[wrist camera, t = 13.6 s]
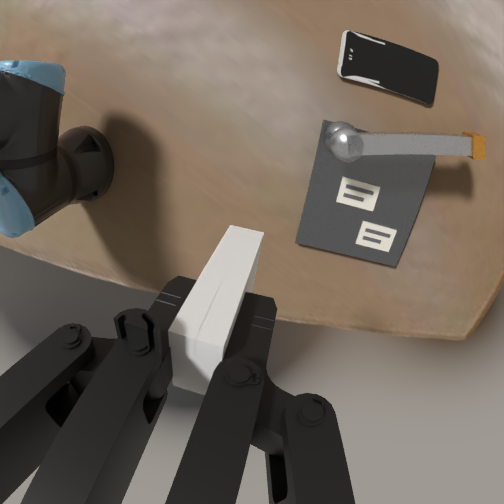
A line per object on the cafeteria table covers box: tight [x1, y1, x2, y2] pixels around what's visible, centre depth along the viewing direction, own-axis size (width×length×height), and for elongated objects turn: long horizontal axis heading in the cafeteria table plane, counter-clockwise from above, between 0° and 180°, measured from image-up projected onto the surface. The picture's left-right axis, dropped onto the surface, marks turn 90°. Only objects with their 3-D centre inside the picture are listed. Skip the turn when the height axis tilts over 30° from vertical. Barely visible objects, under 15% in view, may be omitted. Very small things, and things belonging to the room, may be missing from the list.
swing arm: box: [330, 128, 485, 162], centre depth 30 cm, size 22×4×3 cm, turn 100°
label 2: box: [356, 221, 397, 252], centre depth 44 cm, size 6×4×1 cm, turn 81°
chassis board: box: [295, 120, 436, 267], centre depth 40 cm, size 18×20×6 cm
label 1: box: [336, 177, 380, 211], centre depth 41 cm, size 6×4×1 cm, turn 81°
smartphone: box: [337, 30, 439, 104], centre depth 32 cm, size 8×1×15 cm
